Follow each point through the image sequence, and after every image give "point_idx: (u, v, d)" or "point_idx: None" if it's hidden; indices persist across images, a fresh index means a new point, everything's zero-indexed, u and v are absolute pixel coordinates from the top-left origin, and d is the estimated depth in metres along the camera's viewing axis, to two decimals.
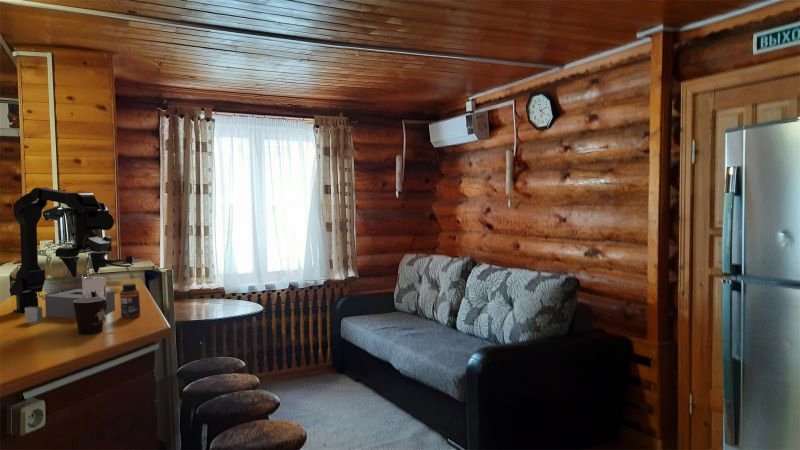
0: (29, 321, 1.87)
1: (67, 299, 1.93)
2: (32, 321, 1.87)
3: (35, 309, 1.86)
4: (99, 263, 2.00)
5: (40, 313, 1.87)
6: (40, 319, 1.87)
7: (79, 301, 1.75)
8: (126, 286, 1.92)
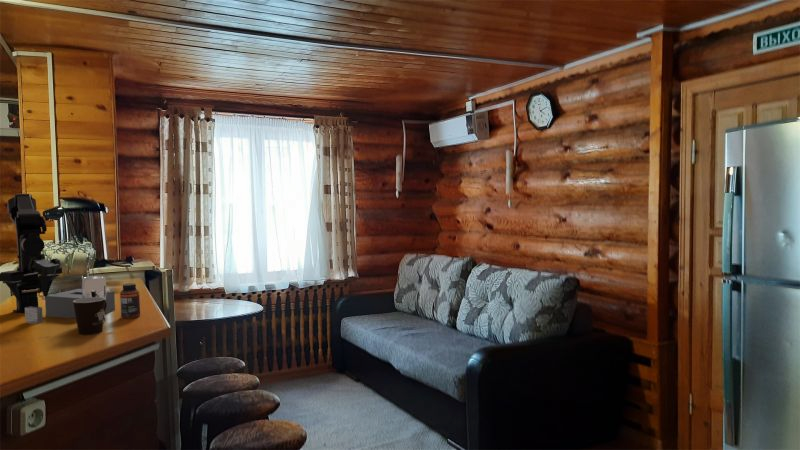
0: (29, 321, 1.87)
1: (67, 299, 1.93)
2: (32, 321, 1.87)
3: (35, 309, 1.86)
4: (48, 286, 1.92)
5: (40, 313, 1.87)
6: (40, 319, 1.87)
7: (79, 301, 1.75)
8: (126, 286, 1.92)
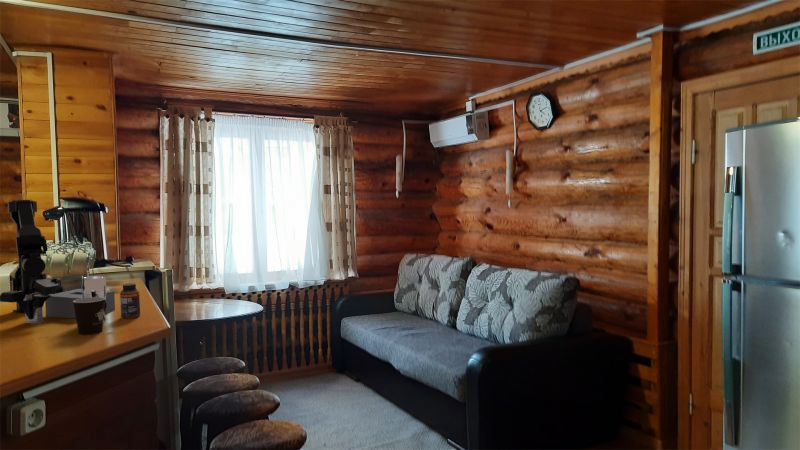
0: (29, 321, 1.87)
1: (67, 299, 1.93)
2: (32, 321, 1.87)
3: (35, 309, 1.86)
4: None
5: (40, 313, 1.87)
6: (40, 319, 1.87)
7: (79, 301, 1.75)
8: (126, 286, 1.92)
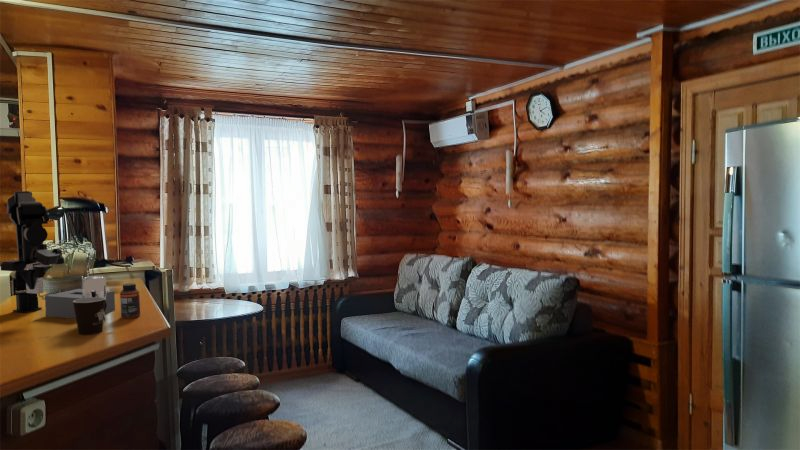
0: (30, 291, 1.87)
1: (67, 299, 1.93)
2: (33, 291, 1.87)
3: (36, 279, 1.86)
4: None
5: (41, 283, 1.87)
6: (41, 289, 1.87)
7: (79, 301, 1.75)
8: (126, 286, 1.92)
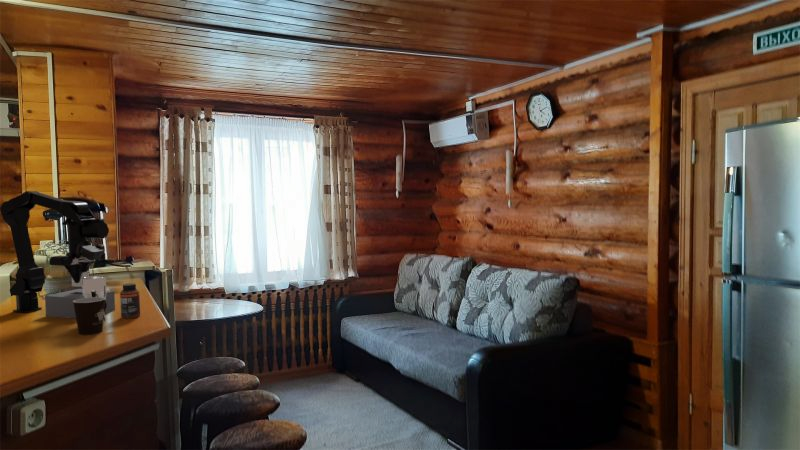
0: (75, 284, 1.99)
1: (67, 299, 1.93)
2: (78, 284, 1.99)
3: (81, 273, 1.98)
4: None
5: None
6: None
7: (79, 301, 1.75)
8: (126, 286, 1.92)
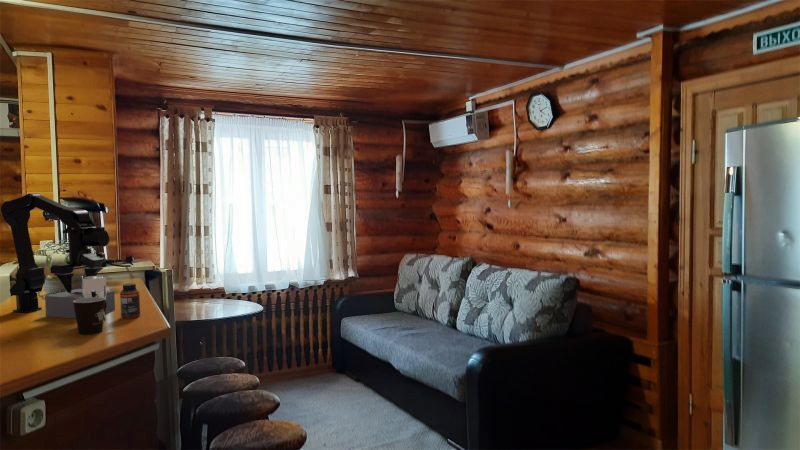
0: None
1: (67, 299, 1.93)
2: None
3: None
4: None
5: None
6: None
7: (79, 301, 1.75)
8: (126, 286, 1.92)
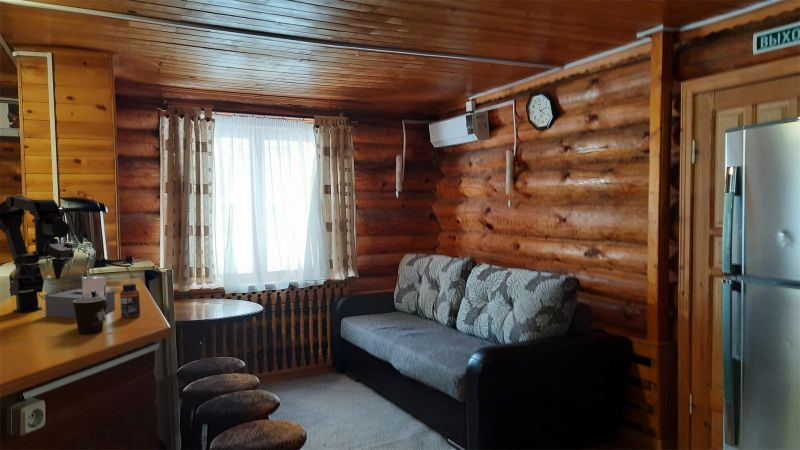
0: None
1: (67, 299, 1.93)
2: None
3: None
4: (61, 269, 2.02)
5: None
6: None
7: (79, 301, 1.75)
8: (126, 286, 1.92)
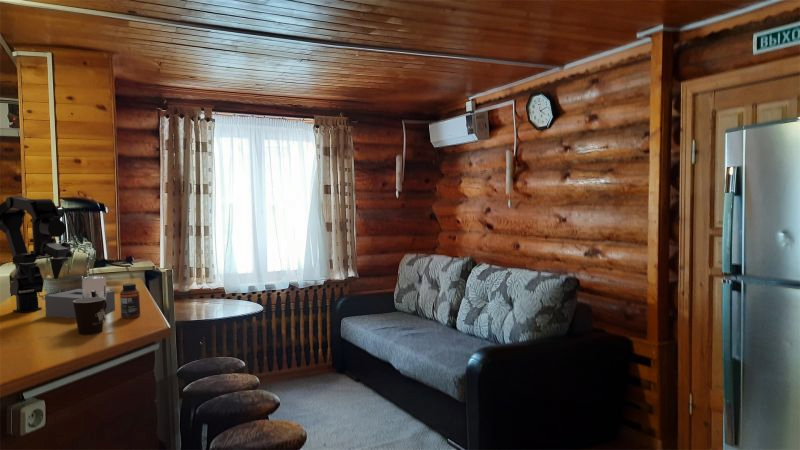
0: None
1: (67, 299, 1.93)
2: None
3: None
4: (59, 269, 2.01)
5: None
6: None
7: (79, 301, 1.75)
8: (126, 286, 1.92)
